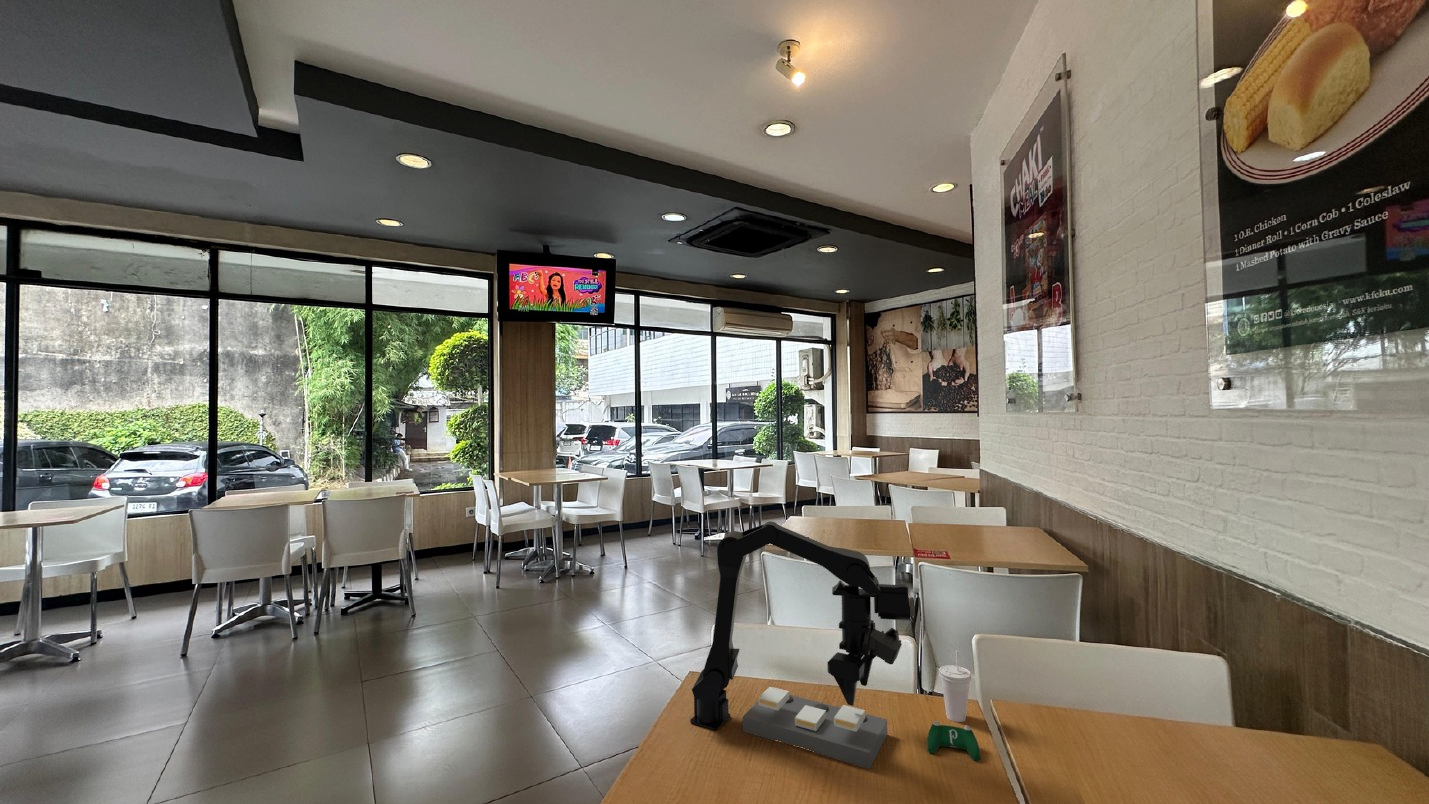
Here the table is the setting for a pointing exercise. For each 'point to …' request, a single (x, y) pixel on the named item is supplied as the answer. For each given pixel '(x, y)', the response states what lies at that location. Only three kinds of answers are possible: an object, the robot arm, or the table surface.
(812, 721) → the middle button
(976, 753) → the gaming controller
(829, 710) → the control panel
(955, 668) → the smoothie
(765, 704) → the left button
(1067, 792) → the table surface
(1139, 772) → the table surface
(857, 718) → the right button
